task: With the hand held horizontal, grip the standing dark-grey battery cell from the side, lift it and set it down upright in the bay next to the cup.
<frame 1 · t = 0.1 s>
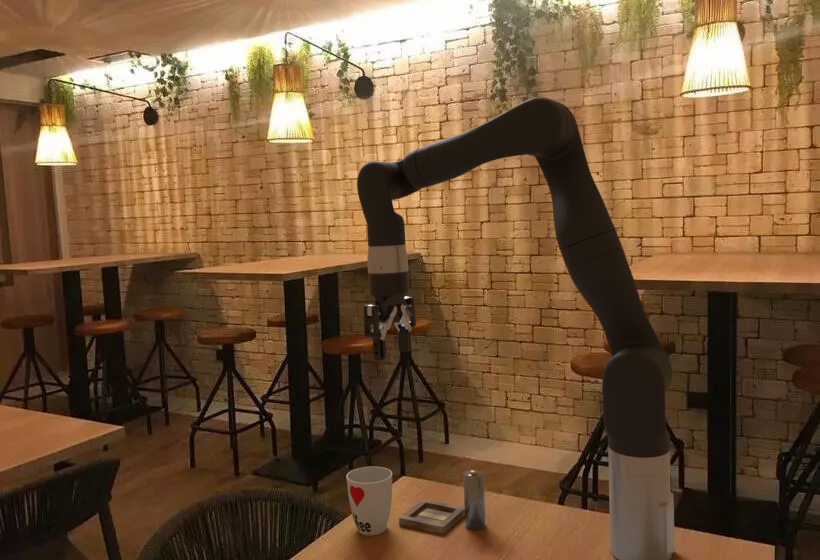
hand: (392, 355, 130), 29 cm above the table, tool pointing down, fingers open, 8 cm apart
cup: (372, 530, 123), on the table
cell: (475, 525, 122), on the table
bay: (433, 519, 126), on the table
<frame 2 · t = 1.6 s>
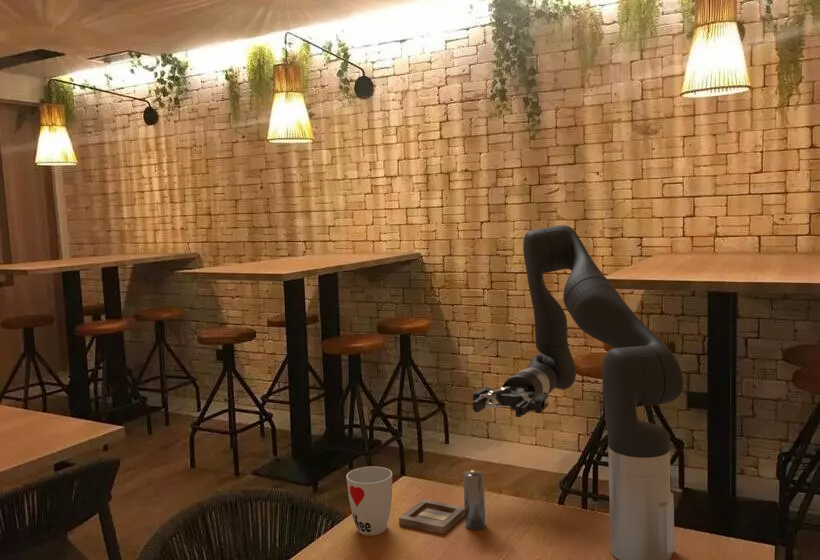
hand: (496, 409, 130), 18 cm above the table, tool horizontal, fingers open, 8 cm apart
nothing on the table moved.
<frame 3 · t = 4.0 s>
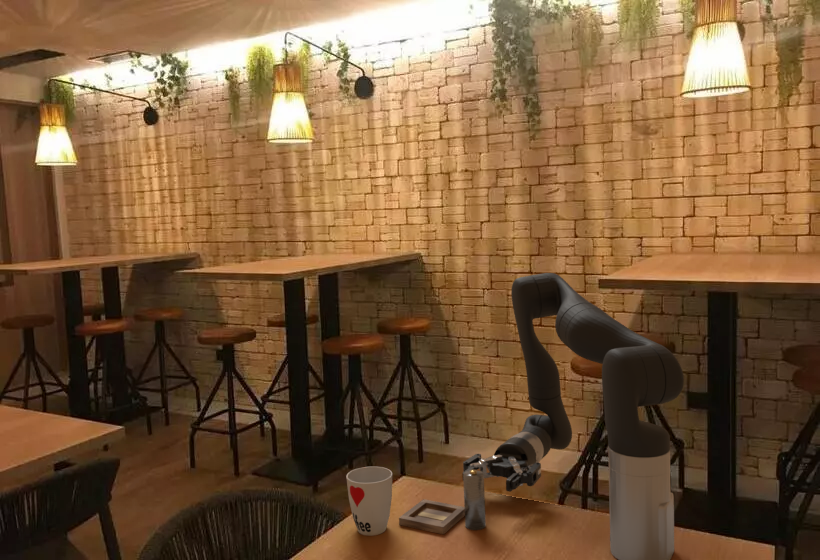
hand: (486, 482, 126), 6 cm above the table, tool horizontal, fingers open, 8 cm apart
nothing on the table moved.
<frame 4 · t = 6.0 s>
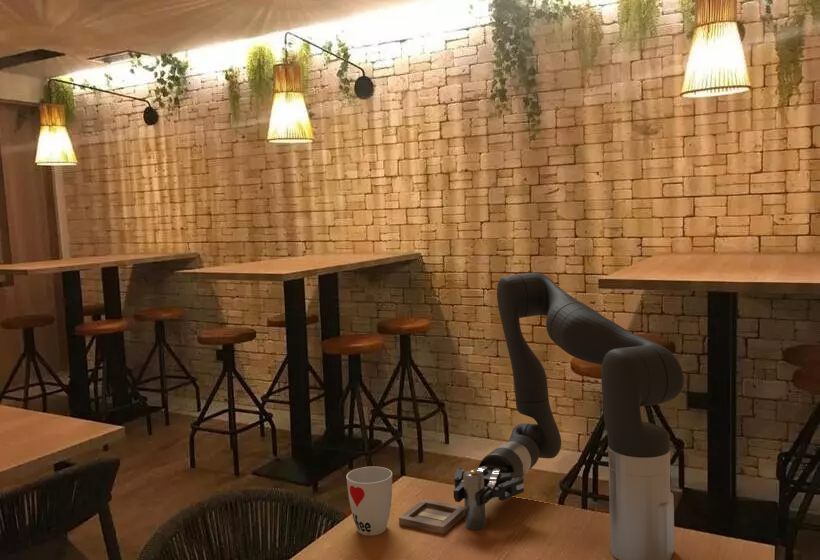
hand: (467, 498, 119), 6 cm above the table, tool horizontal, fingers closed on cell, 3 cm apart
cell: (475, 525, 122), on the table, touching gripper
everything else where it was.
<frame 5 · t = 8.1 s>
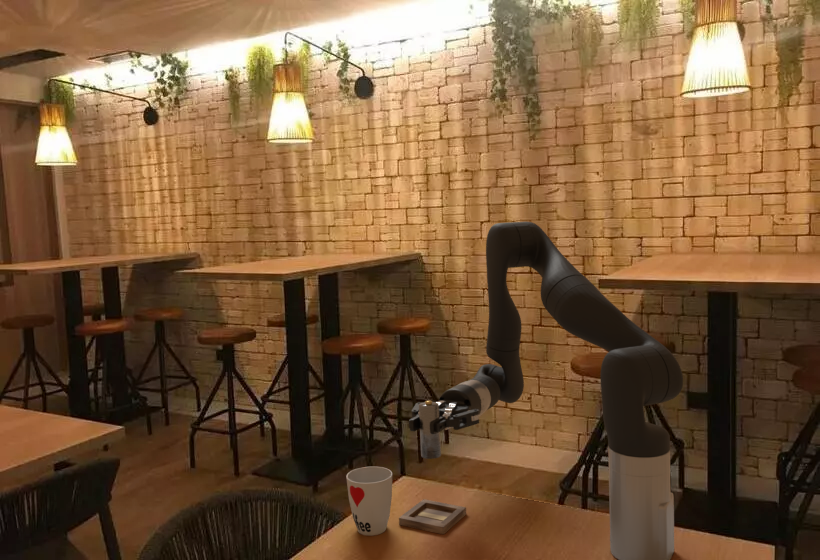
hand: (421, 427, 122), 18 cm above the table, tool horizontal, fingers closed on cell, 3 cm apart
cell: (431, 455, 125), point 12 cm above the table, touching gripper
everything else where it was.
when the fingers open (7 cm above the table, at t = 10.4 s): cell stays where it is, resting on bay.
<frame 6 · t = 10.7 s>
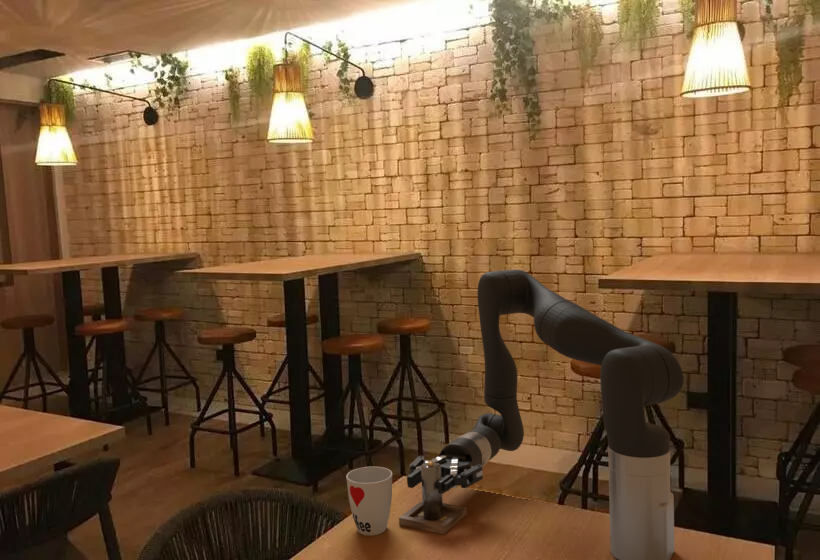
hand: (424, 485, 123), 7 cm above the table, tool horizontal, fingers open, 5 cm apart
cell: (433, 515, 126), point 1 cm above the table, touching bay
everything else where it was.
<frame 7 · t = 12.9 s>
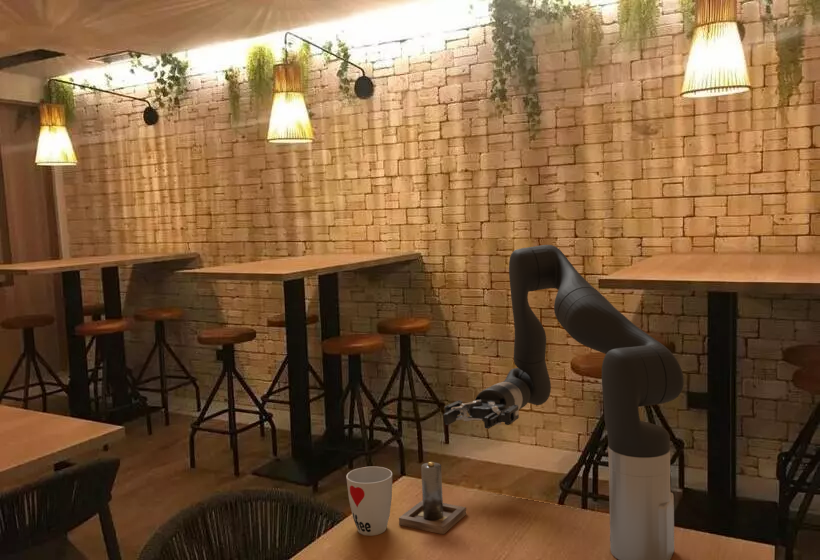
hand: (465, 421, 132), 15 cm above the table, tool horizontal, fingers open, 8 cm apart
nothing on the table moved.
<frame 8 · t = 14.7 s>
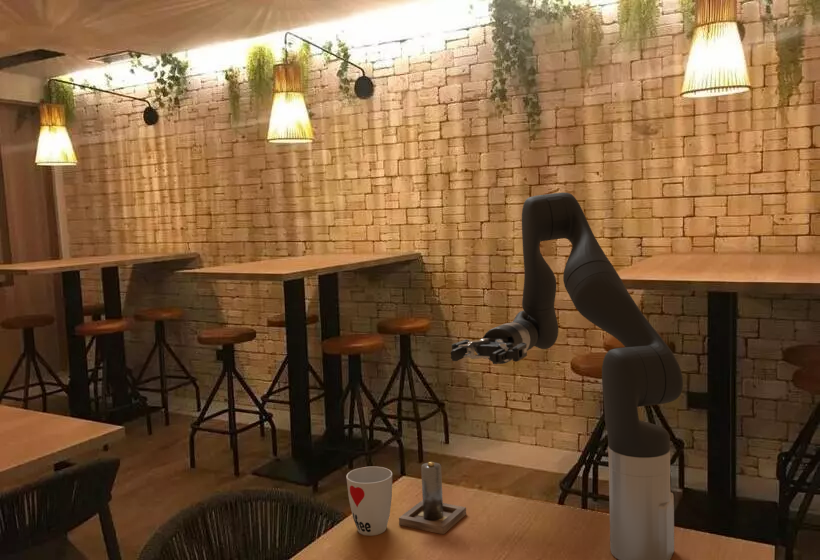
hand: (473, 357, 131), 28 cm above the table, tool horizontal, fingers open, 8 cm apart
nothing on the table moved.
at the end: cell 0.1 cm off-centre on the bay, point 0.6 cm above the bay's base; cell tilted 0°; the gripper is holding nothing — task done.
